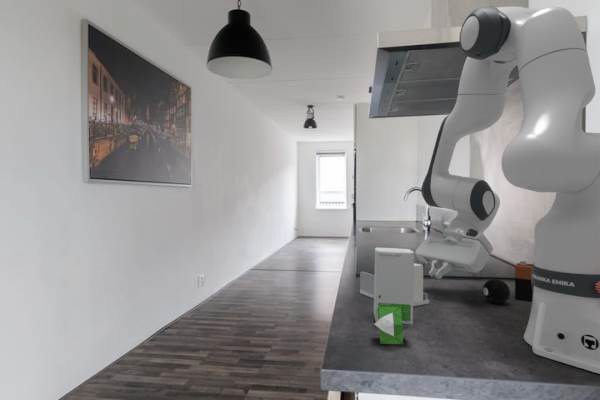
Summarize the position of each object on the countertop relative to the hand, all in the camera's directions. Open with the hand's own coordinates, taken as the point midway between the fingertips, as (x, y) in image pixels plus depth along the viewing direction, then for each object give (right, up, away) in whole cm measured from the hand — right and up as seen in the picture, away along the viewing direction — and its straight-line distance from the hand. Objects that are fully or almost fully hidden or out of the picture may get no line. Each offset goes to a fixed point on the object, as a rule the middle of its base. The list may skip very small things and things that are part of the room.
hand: (434, 276), depth 97 cm
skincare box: (-15, -7, -15) cm, 22 cm away
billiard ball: (+15, -6, -3) cm, 17 cm away
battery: (+26, -6, 0) cm, 27 cm away
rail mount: (-10, -6, +2) cm, 12 cm away
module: (-8, -5, -4) cm, 10 cm away
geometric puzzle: (-18, -7, -28) cm, 34 cm away
